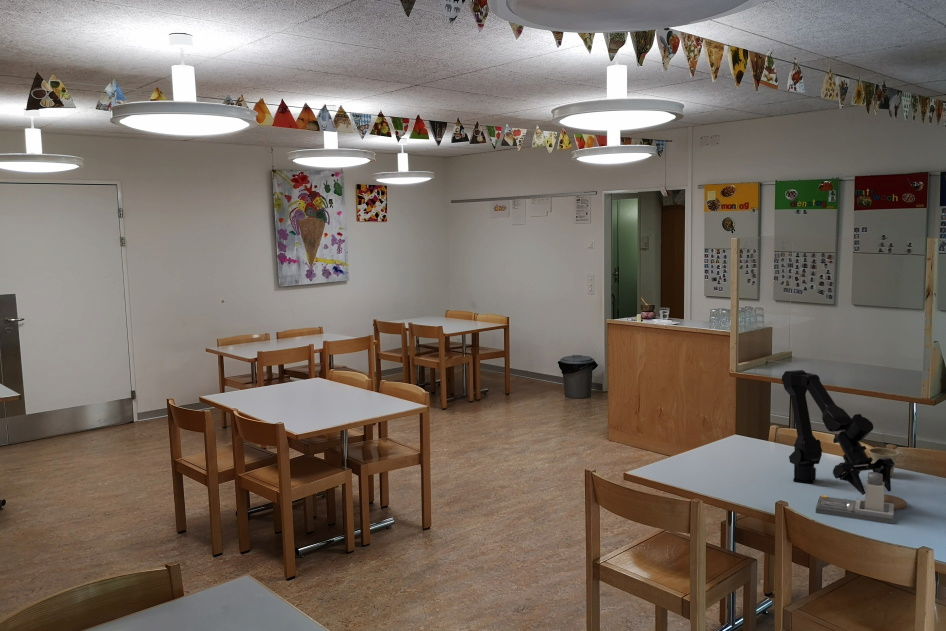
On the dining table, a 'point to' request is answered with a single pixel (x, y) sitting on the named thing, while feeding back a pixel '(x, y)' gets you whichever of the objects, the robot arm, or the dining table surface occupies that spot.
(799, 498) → the dining table surface
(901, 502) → the disc
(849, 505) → the lever
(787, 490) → the dining table surface
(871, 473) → the white carton with cap
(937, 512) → the dining table surface
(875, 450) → the flower pot
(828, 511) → the grey control panel
